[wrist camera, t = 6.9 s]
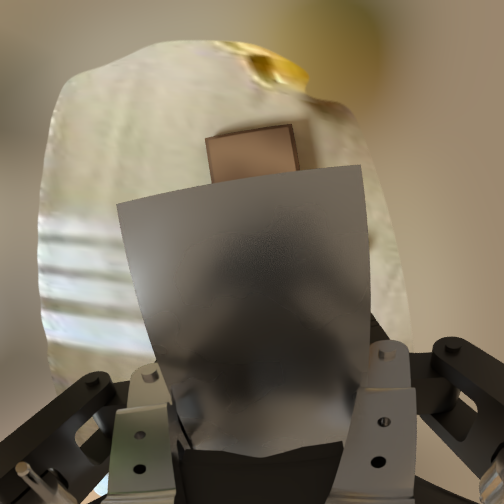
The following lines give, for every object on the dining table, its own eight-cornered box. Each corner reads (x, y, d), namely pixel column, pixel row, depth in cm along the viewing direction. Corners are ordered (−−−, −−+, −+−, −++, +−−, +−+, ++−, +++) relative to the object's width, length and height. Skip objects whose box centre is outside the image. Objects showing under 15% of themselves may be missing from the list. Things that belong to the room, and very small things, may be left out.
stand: (310, 254, 31) (313, 259, 28) (229, 266, 32) (225, 272, 29) (290, 127, 28) (292, 121, 26) (207, 140, 29) (202, 136, 27)
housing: (316, 175, 11) (362, 164, 5) (331, 384, 13) (354, 478, 7) (190, 194, 11) (114, 204, 5) (232, 394, 13) (214, 488, 8)
